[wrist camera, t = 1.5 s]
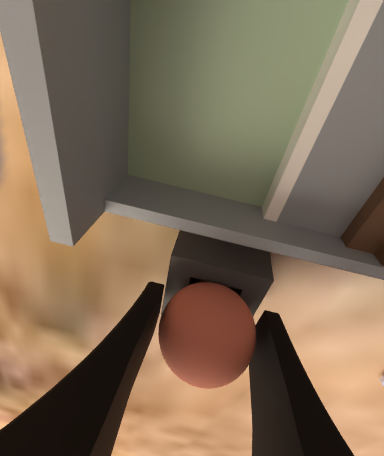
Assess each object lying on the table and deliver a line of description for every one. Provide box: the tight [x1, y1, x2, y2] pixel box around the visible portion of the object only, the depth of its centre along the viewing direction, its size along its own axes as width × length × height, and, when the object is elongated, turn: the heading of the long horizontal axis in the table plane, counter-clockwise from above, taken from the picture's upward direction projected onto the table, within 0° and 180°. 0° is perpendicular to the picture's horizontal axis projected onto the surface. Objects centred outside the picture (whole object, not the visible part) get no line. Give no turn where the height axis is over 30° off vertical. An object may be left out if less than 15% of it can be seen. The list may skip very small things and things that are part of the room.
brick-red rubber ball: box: [159, 282, 256, 388], centre depth 10 cm, size 4×4×4 cm
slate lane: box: [0, 0, 384, 280], centre depth 6 cm, size 14×8×4 cm, turn 80°
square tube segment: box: [161, 230, 274, 316], centre depth 12 cm, size 4×4×2 cm
